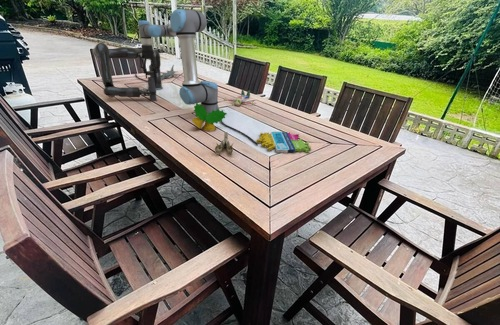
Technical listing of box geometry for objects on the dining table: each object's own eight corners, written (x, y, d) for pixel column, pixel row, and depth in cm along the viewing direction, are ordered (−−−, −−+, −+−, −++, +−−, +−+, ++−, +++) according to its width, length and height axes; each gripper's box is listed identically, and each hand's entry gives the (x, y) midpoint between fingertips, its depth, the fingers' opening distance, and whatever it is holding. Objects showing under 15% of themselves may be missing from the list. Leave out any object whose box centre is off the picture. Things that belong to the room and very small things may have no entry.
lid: (154, 75, 197) (154, 72, 196) (146, 75, 196) (146, 72, 195) (154, 74, 202) (153, 70, 201) (146, 74, 200) (146, 71, 199)
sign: (313, 150, 142) (258, 149, 139) (312, 153, 143) (258, 152, 140) (301, 132, 164) (254, 130, 161) (301, 134, 165) (254, 133, 162)
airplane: (149, 74, 290) (148, 65, 285) (178, 73, 303) (177, 64, 298) (156, 82, 262) (155, 72, 257) (187, 81, 275) (186, 71, 270)
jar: (152, 101, 206) (149, 78, 197) (148, 100, 208) (145, 77, 199) (157, 100, 209) (155, 77, 201) (154, 99, 212) (151, 76, 203)
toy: (261, 91, 228) (254, 99, 202) (261, 99, 231) (253, 108, 205) (231, 87, 233) (220, 95, 207) (230, 95, 236) (219, 104, 210)
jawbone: (234, 135, 144) (233, 125, 135) (233, 160, 138) (232, 151, 129) (217, 135, 144) (216, 125, 135) (216, 160, 138) (214, 150, 129)
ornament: (218, 133, 171) (224, 110, 169) (221, 134, 163) (227, 111, 161) (186, 125, 162) (192, 101, 160) (189, 126, 155) (195, 101, 153)
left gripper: (130, 89, 194) (154, 89, 198) (133, 85, 206) (156, 85, 210) (132, 99, 198) (155, 99, 202) (134, 94, 210) (157, 94, 214)
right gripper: (159, 44, 195) (162, 76, 207) (132, 44, 188) (137, 77, 199) (160, 45, 190) (164, 78, 201) (133, 45, 182) (138, 79, 193)
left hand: (155, 92), depth 206 cm, fingers closed on jar, 5 cm apart
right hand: (150, 77), depth 200 cm, fingers closed on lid, 5 cm apart
